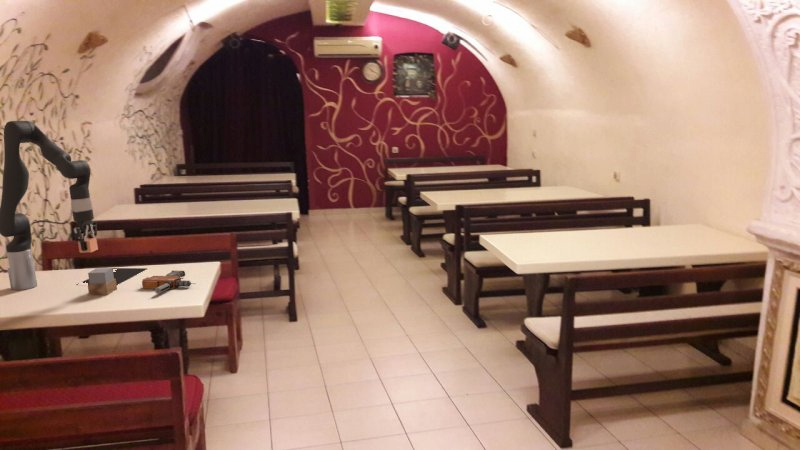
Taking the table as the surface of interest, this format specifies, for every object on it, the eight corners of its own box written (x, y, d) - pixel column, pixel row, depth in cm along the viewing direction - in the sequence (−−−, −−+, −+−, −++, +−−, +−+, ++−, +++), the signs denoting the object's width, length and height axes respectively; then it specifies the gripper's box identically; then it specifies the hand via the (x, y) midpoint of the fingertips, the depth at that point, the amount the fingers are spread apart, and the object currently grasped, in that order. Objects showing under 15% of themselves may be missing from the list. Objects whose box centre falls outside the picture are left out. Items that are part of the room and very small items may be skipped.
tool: (165, 268, 275) (126, 285, 246) (219, 269, 271) (186, 287, 242) (166, 277, 276) (127, 295, 247) (220, 278, 272) (187, 296, 242)
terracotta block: (79, 252, 244) (77, 241, 243) (86, 249, 249) (84, 238, 248) (91, 252, 244) (89, 240, 243) (98, 249, 249) (96, 237, 248)
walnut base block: (89, 296, 249) (87, 284, 248) (99, 290, 257) (97, 279, 256) (107, 295, 249) (106, 284, 248) (117, 289, 256) (115, 278, 255)
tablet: (110, 268, 290) (148, 268, 287) (110, 269, 290) (148, 269, 288) (74, 285, 264) (115, 285, 261) (74, 286, 264) (116, 287, 261)
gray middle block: (89, 284, 248) (88, 273, 247) (97, 279, 255) (96, 268, 254) (106, 283, 248) (104, 272, 247) (113, 278, 255) (112, 267, 254)
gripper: (83, 206, 250) (89, 245, 254) (62, 212, 236) (69, 253, 240) (100, 205, 250) (106, 244, 253) (80, 212, 236) (87, 253, 239)
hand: (88, 248), depth 246 cm, fingers closed on terracotta block, 5 cm apart
